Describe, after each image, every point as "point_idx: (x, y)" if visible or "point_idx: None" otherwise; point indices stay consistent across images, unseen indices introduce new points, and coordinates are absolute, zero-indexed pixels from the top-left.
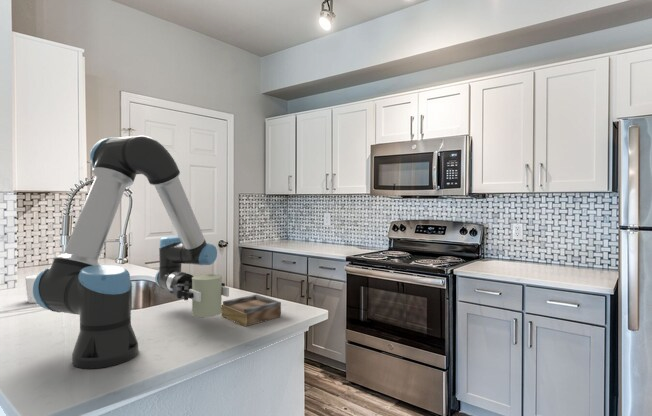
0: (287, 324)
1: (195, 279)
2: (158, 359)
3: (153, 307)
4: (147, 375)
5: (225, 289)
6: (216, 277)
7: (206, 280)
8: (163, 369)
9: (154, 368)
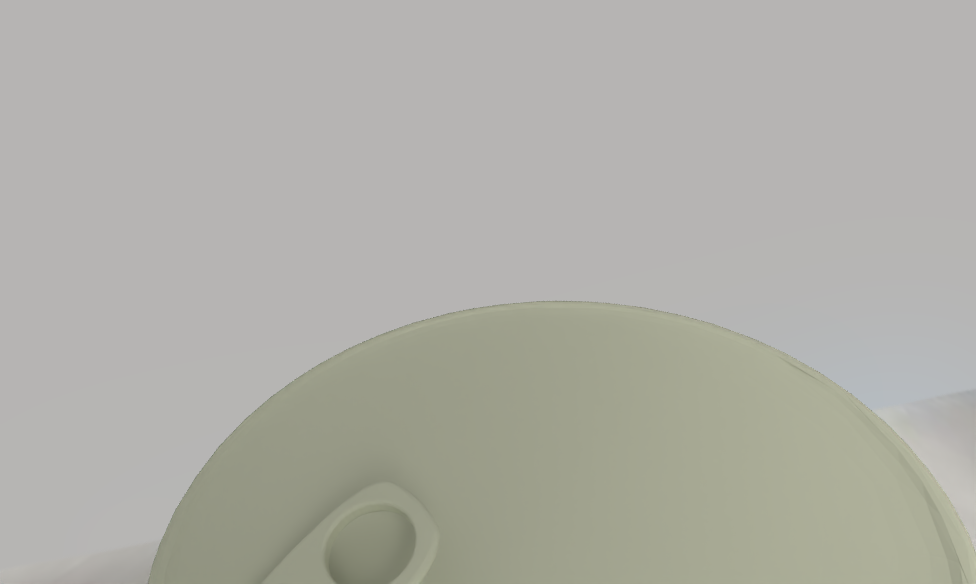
0: (62, 577)
1: (831, 381)
2: (969, 520)
3: None
4: (960, 410)
5: None
6: (400, 376)
7: (630, 313)
8: (897, 423)
9: (950, 445)
